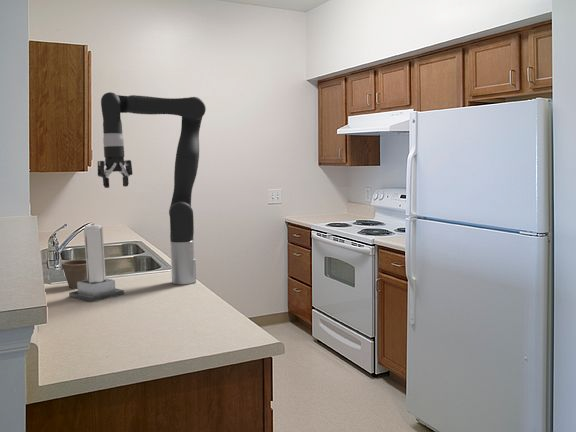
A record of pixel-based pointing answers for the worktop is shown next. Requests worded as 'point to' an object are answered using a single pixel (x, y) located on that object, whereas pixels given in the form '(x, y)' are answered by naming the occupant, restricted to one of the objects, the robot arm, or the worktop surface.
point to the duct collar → (96, 290)
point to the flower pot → (75, 271)
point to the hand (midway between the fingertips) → (116, 187)
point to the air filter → (94, 254)
